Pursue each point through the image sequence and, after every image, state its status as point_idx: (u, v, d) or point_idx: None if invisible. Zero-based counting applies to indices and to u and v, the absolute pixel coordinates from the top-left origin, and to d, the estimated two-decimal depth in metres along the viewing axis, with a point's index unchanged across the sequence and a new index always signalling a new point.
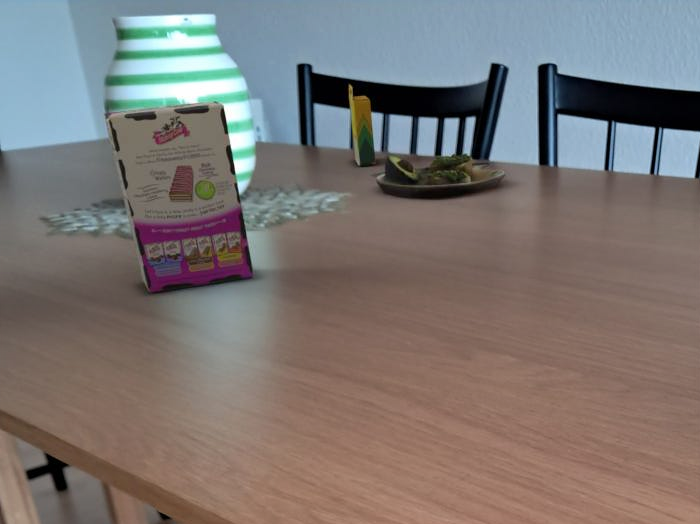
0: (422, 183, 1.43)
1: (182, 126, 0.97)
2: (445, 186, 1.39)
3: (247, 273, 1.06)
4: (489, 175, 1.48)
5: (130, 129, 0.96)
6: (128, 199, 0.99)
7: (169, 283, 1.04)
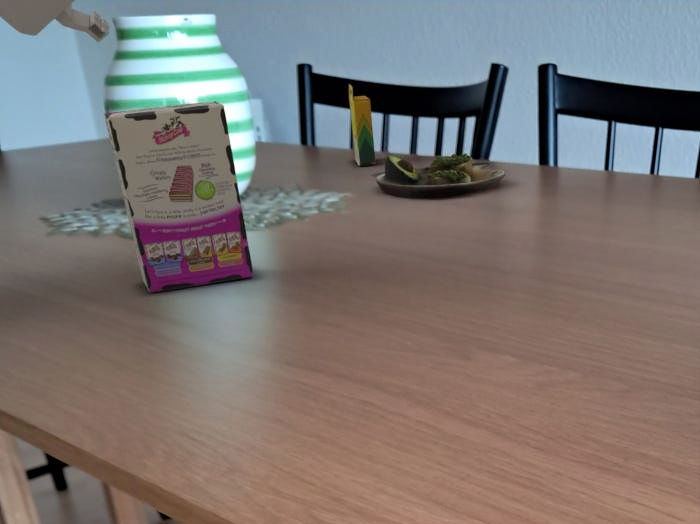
0: (422, 183, 1.43)
1: (182, 126, 0.97)
2: (445, 186, 1.39)
3: (247, 273, 1.06)
4: (489, 175, 1.48)
5: (130, 129, 0.96)
6: (128, 199, 0.99)
7: (169, 283, 1.04)
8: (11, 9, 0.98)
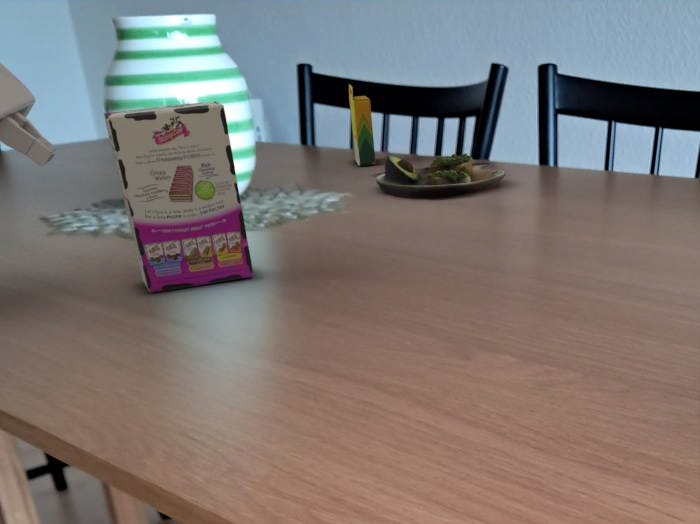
0: (422, 183, 1.43)
1: (182, 126, 0.97)
2: (445, 186, 1.39)
3: (247, 273, 1.06)
4: (489, 175, 1.48)
5: (130, 129, 0.96)
6: (128, 199, 0.98)
7: (169, 283, 1.04)
8: None
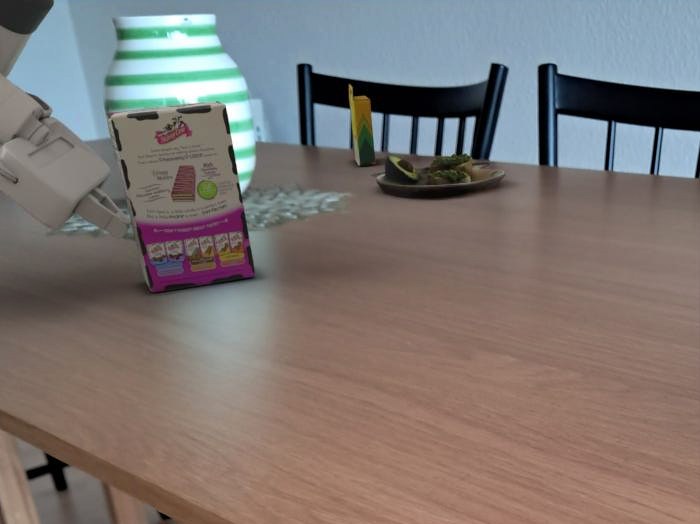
0: (422, 183, 1.43)
1: (184, 126, 0.97)
2: (445, 186, 1.39)
3: (249, 273, 1.06)
4: (489, 175, 1.48)
5: (132, 129, 0.96)
6: (130, 199, 0.98)
7: (171, 283, 1.04)
8: None
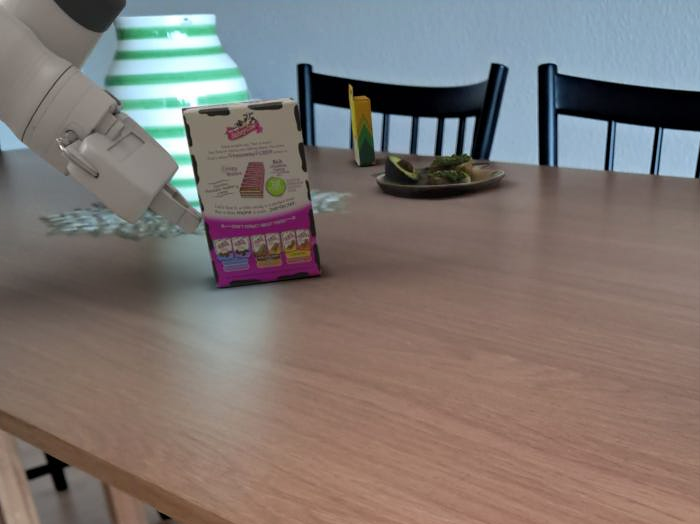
0: (422, 183, 1.43)
1: (255, 122, 0.97)
2: (445, 186, 1.39)
3: (315, 271, 1.06)
4: (489, 175, 1.48)
5: (203, 124, 0.96)
6: (199, 194, 0.99)
7: (237, 279, 1.04)
8: None
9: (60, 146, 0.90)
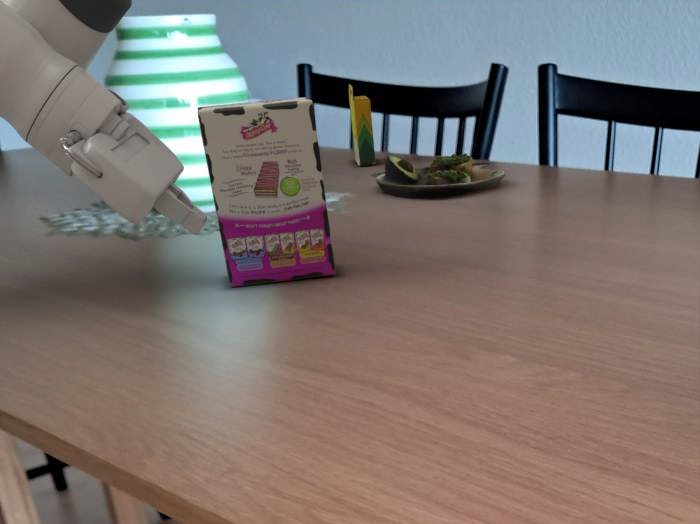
0: (422, 183, 1.43)
1: (270, 122, 0.97)
2: (445, 186, 1.39)
3: (329, 271, 1.05)
4: (489, 175, 1.48)
5: (218, 124, 0.96)
6: (213, 193, 0.99)
7: (250, 278, 1.04)
8: None
9: (64, 146, 0.90)
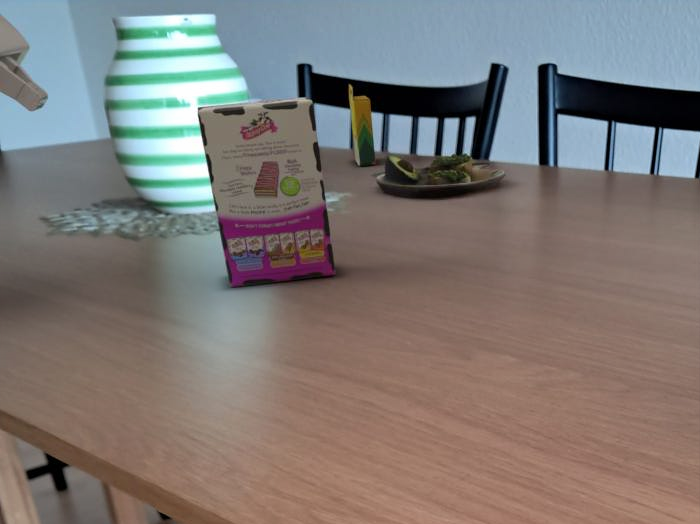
0: (422, 183, 1.43)
1: (270, 122, 0.97)
2: (445, 186, 1.39)
3: (329, 271, 1.05)
4: (489, 175, 1.48)
5: (218, 124, 0.96)
6: (213, 193, 0.99)
7: (250, 278, 1.04)
8: None
9: None
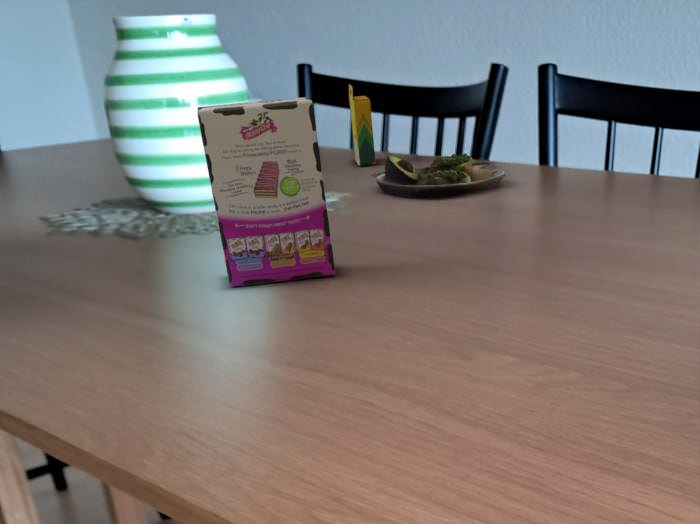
0: (422, 183, 1.43)
1: (269, 122, 0.97)
2: (445, 186, 1.39)
3: (329, 271, 1.05)
4: (489, 175, 1.48)
5: (218, 124, 0.96)
6: (213, 193, 0.99)
7: (250, 278, 1.04)
8: None
9: None
